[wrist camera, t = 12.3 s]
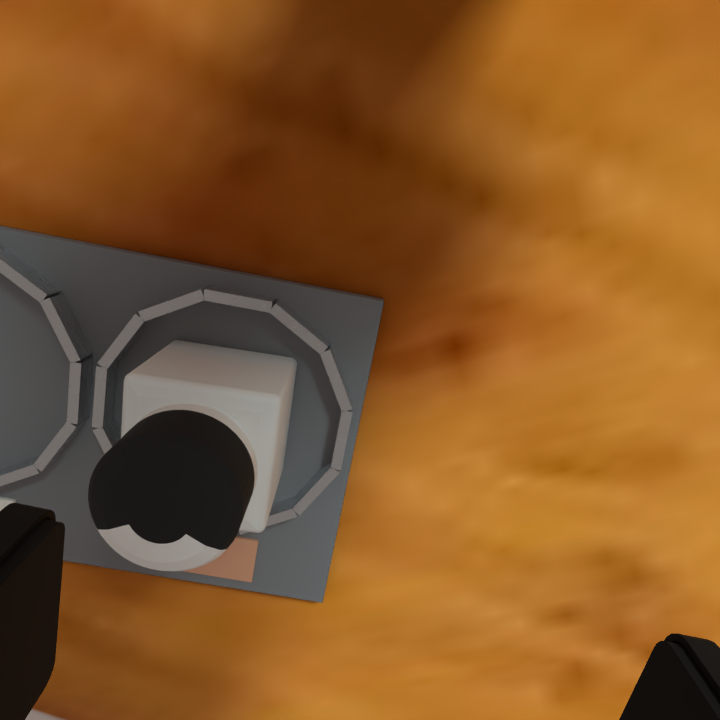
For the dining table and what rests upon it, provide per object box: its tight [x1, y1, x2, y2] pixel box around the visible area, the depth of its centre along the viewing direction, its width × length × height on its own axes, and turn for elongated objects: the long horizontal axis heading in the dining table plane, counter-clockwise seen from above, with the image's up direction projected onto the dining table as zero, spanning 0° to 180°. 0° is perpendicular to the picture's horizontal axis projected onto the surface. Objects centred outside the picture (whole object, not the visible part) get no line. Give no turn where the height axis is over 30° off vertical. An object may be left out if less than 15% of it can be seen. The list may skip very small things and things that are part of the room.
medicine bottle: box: [88, 340, 297, 571], centre depth 27 cm, size 7×7×12 cm
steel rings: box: [0, 245, 353, 535], centre depth 32 cm, size 14×29×2 cm, turn 79°
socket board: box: [0, 226, 384, 603], centre depth 33 cm, size 20×30×1 cm, turn 79°
